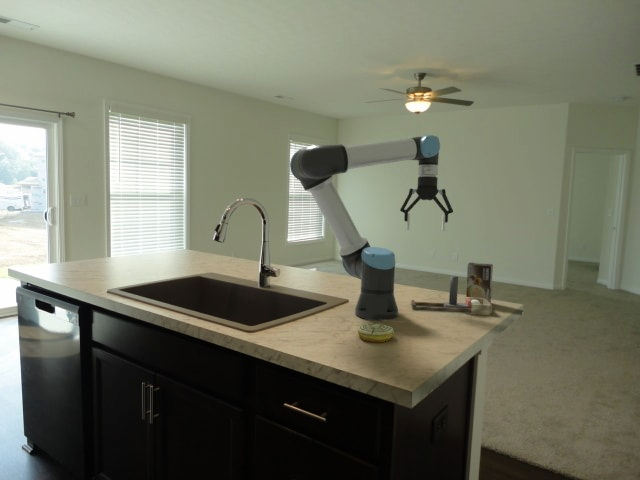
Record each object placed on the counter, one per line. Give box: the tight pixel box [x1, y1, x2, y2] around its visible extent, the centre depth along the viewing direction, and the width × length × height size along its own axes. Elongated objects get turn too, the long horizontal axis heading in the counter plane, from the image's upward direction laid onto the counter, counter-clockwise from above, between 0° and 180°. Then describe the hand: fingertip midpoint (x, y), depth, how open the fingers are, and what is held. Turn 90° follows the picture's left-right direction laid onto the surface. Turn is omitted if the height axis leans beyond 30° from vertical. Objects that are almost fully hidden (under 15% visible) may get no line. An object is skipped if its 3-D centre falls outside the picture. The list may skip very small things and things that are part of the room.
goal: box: [465, 296, 493, 316], centre depth 169 cm, size 7×12×4 cm, turn 172°
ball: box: [471, 300, 480, 307], centre depth 169 cm, size 4×4×4 cm
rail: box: [410, 299, 471, 313], centre depth 171 cm, size 21×8×2 cm, turn 82°
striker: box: [443, 275, 471, 309], centre depth 169 cm, size 9×5×12 cm, turn 82°
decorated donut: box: [357, 322, 395, 343], centre depth 135 cm, size 10×11×4 cm
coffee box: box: [465, 262, 494, 305], centre depth 180 cm, size 9×6×16 cm
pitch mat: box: [410, 304, 472, 315], centre depth 170 cm, size 28×12×1 cm, turn 82°
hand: (425, 230), depth 180 cm, fingers open, 13 cm apart
